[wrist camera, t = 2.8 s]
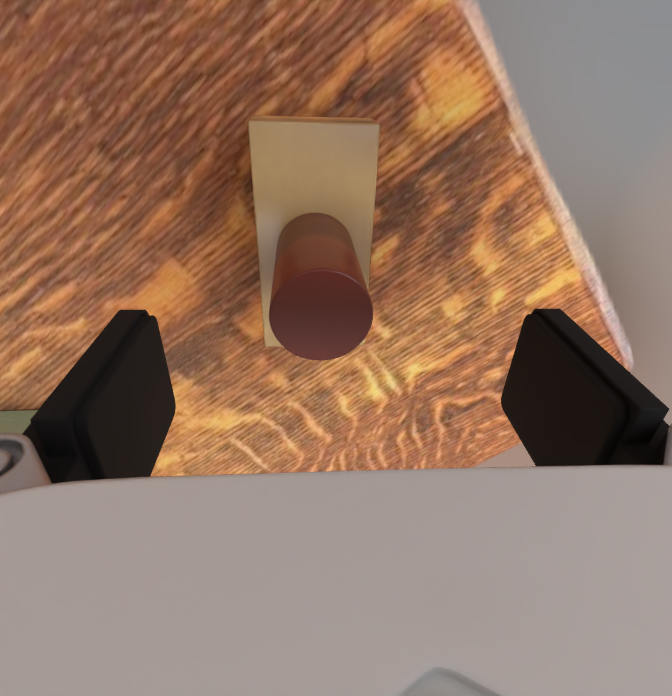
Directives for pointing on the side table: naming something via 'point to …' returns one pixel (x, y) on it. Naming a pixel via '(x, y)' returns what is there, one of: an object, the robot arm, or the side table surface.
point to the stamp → (314, 230)
